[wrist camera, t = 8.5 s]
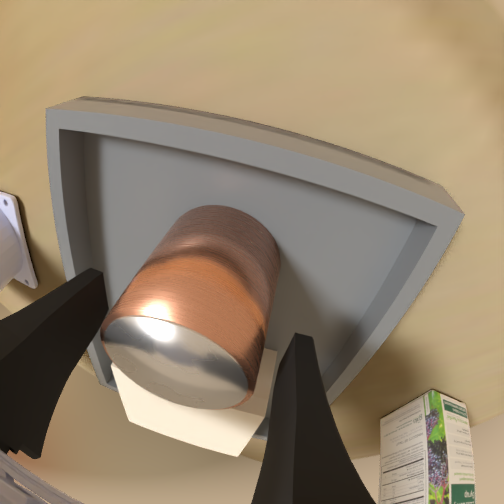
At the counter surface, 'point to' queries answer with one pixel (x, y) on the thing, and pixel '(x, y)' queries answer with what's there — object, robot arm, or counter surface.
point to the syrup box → (427, 453)
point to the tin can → (198, 310)
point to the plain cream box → (200, 413)
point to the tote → (258, 206)
